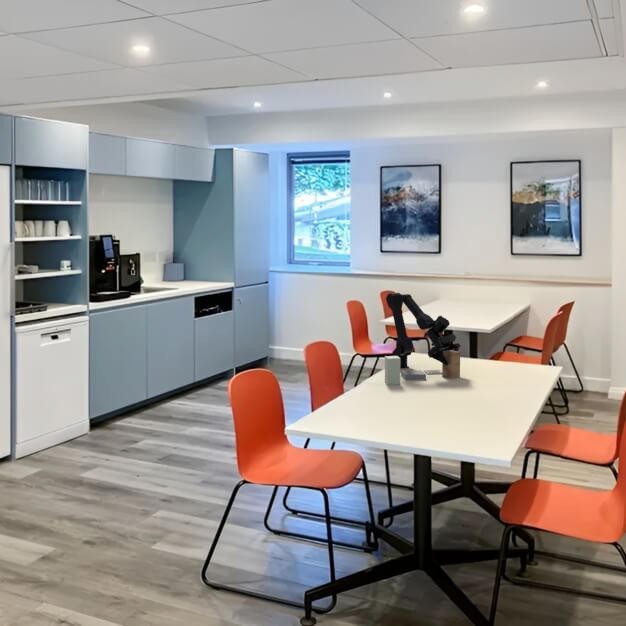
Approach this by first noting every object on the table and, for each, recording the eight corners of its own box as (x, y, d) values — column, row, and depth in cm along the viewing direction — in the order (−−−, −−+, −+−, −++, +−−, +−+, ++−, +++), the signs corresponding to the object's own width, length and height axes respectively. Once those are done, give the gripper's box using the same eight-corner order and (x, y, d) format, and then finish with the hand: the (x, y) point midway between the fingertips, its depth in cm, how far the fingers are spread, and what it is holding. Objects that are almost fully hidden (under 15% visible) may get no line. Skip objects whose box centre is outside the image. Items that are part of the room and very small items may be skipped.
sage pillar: (384, 382, 354) (384, 356, 353) (397, 381, 355) (397, 355, 354) (387, 385, 348) (387, 358, 347) (400, 384, 349) (400, 358, 348)
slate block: (401, 376, 369) (401, 370, 368) (420, 376, 370) (421, 370, 369) (405, 380, 359) (405, 374, 358) (425, 380, 360) (425, 374, 359)
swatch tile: (423, 371, 379) (423, 369, 379) (438, 370, 380) (438, 369, 380) (427, 374, 371) (427, 373, 371) (443, 373, 372) (443, 372, 372)
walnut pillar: (442, 376, 366) (442, 351, 364) (450, 375, 369) (450, 350, 368) (451, 378, 361) (452, 353, 359) (459, 377, 365) (460, 351, 363)
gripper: (432, 330, 359) (449, 356, 352) (458, 326, 371) (475, 351, 364) (420, 344, 367) (437, 370, 359) (445, 340, 378) (462, 365, 371)
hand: (453, 363), depth 363 cm, fingers open, 8 cm apart
